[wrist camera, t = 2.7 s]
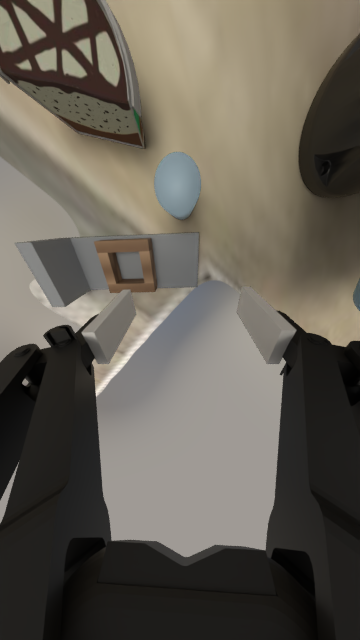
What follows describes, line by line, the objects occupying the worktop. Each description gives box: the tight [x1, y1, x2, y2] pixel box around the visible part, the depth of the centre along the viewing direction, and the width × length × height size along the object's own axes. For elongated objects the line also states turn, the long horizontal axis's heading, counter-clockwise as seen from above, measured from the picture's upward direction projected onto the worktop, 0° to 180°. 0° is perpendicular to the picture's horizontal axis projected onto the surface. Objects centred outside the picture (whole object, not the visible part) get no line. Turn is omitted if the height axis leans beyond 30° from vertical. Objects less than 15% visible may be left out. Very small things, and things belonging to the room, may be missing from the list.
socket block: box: [94, 238, 157, 293], centre depth 27 cm, size 9×9×3 cm
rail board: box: [15, 232, 199, 307], centre depth 26 cm, size 10×26×9 cm, turn 92°
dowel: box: [154, 152, 201, 220], centre depth 18 cm, size 4×4×14 cm
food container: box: [0, 0, 145, 149], centre depth 14 cm, size 12×6×10 cm, turn 80°
